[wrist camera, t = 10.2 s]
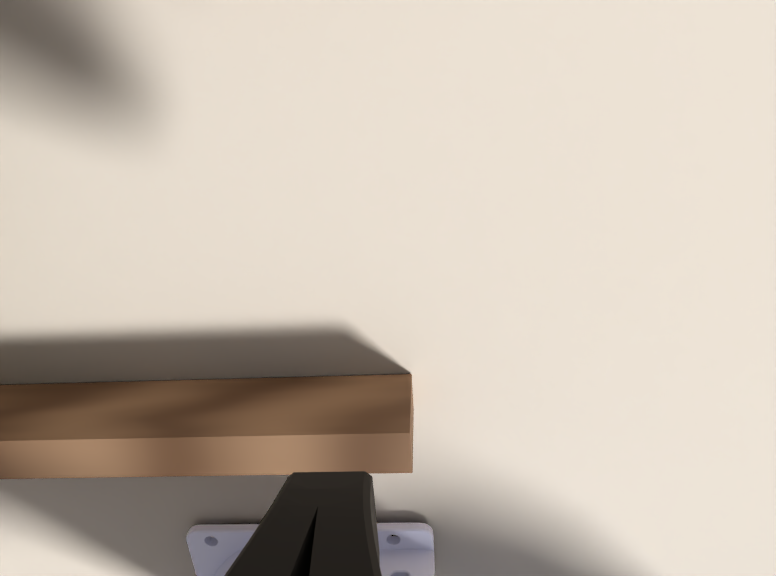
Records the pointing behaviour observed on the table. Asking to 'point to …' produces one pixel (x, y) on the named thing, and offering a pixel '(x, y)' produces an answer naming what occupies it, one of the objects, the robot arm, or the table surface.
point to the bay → (207, 427)
